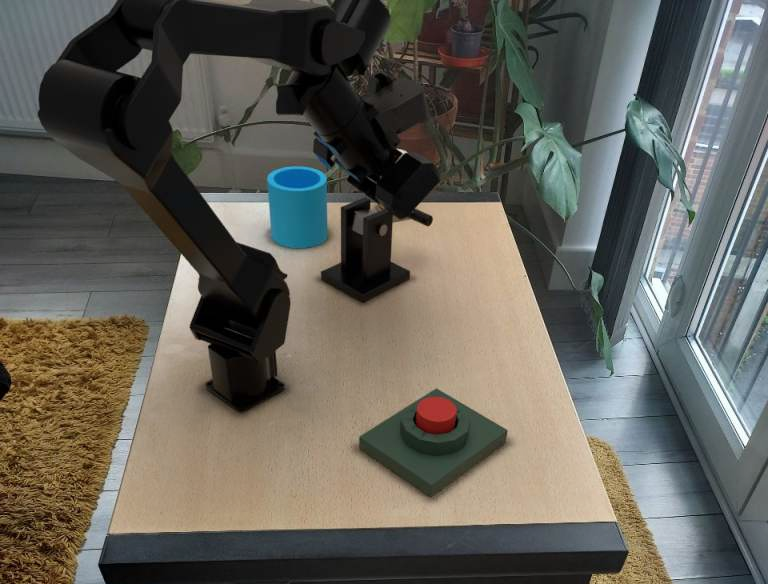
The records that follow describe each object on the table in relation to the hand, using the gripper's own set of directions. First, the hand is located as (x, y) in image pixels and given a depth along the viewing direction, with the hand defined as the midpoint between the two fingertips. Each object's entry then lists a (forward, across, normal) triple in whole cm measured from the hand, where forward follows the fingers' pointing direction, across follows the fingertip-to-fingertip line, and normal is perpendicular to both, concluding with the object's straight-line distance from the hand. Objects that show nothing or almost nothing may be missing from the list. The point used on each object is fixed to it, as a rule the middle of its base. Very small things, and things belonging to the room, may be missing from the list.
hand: (408, 211), depth 94 cm
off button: (0, -26, +16) cm, 30 cm away
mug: (+7, +24, +10) cm, 27 cm away
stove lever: (+6, +8, +2) cm, 10 cm away
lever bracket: (+8, +7, +8) cm, 14 cm away
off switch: (+2, -26, +18) cm, 31 cm away
